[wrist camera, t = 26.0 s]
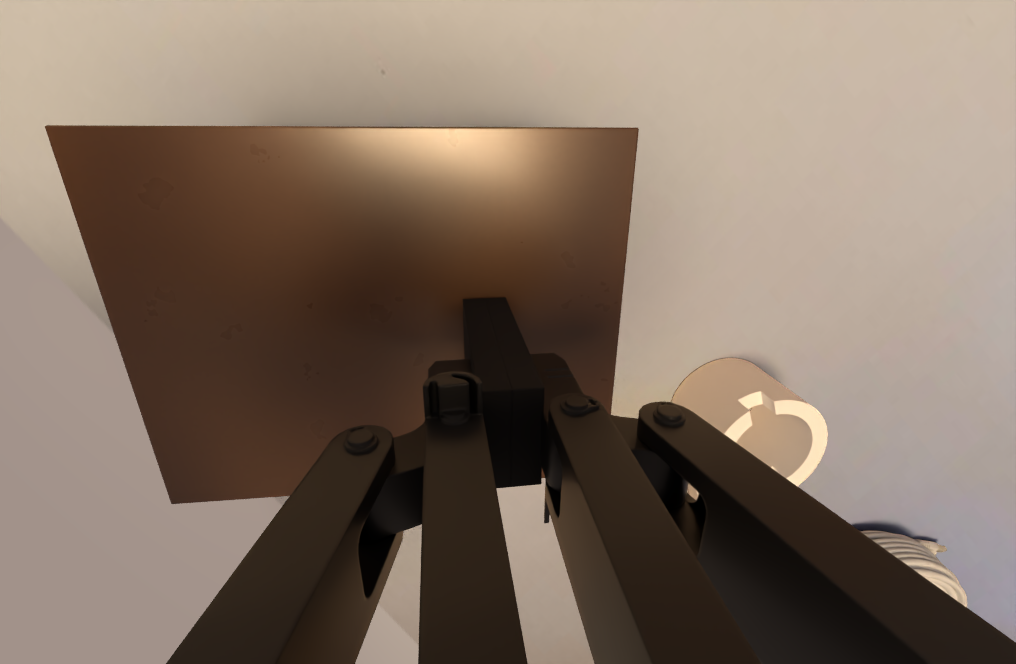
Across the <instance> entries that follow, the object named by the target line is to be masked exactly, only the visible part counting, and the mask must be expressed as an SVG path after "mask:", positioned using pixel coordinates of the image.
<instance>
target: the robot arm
mask: <svg viewBox="0 0 1016 664" xmlns="http://www.w3.org/2000/svg"><path fill="white" fill-rule="evenodd" d="M462 300H463V328H464V357H465V359H458V360H440V361H435V362H434V363H433V364H432V366H431V367H430V368H429V369H428V379H427V380H426V381H425V382H424V385H423V399H424V413H425V421H424V423H423V424H422V425H421V426H420V427H418V428H417V429H415V430H413V431H412V432H409V433H407V434H404V435H401V436H397V437H394V438H393V436H392V434H391V432H390V431H389V430H387V429H386V428H384V427H381V426H376V425H361V426H357V427H352V428H349V429H347V430H345V431H343V432H341V433H339V434H338V435H337V436H335V437H334V438H333V439H332V440H331V441H330V443H329V444H328V445H327V447H326V448H325V449H324V451H323V452H322V453H321V455H320V456H319V457H318V459H317V460H316V462H315V463H314V464H313V466H312V467H311V468H310V470H309V471H308V472H307V474H306V475H305V476H304V478H303V479H302V480H301V482H300V483H299V485H298V486H297V487H296V489H295V490H294V491H293V493H292V494H291V495H290V497H289V498H288V499H287V501H286V502H285V503H284V505H283V506H282V508H281V509H280V510H279V512H278V513H277V514H276V516H275V517H274V518H273V520H272V521H271V522H270V524H269V525H268V526H267V528H266V529H265V531H264V532H263V533H262V535H261V536H260V537H259V539H258V540H257V541H256V543H255V544H254V545H253V547H252V548H251V550H250V551H249V552H248V553H247V555H246V556H245V558H244V559H243V560H242V562H241V563H240V564H239V566H238V567H237V568H236V570H235V571H234V572H233V574H232V575H231V577H230V578H229V579H228V581H227V582H226V583H225V585H224V586H223V587H222V589H221V590H220V591H219V593H218V594H217V595H216V597H215V599H213V601H212V602H211V604H210V605H209V607H208V608H207V609H206V611H205V612H204V613H203V615H202V616H201V617H200V618H199V620H198V621H197V622H196V624H195V625H194V627H193V628H192V629H191V631H190V632H189V633H188V635H187V636H186V637H185V639H184V640H183V642H182V643H181V644H180V645H179V647H178V648H177V650H176V651H175V652H174V654H173V655H172V656H171V658H170V659H169V660H168V662H167V663H166V664H355V662H356V659H357V657H358V654H359V651H360V649H361V646H362V644H363V641H364V638H365V636H366V633H367V630H368V628H369V625H370V623H371V620H372V618H373V614H374V612H375V610H376V607H377V604H378V602H379V599H380V597H381V594H382V591H383V589H384V586H385V584H386V581H387V578H388V576H389V573H390V571H391V568H392V565H393V563H394V560H395V558H396V555H397V552H398V550H399V547H400V545H401V542H402V538H403V531H404V530H407V529H410V528H412V527H415V526H418V525H421V524H422V547H421V584H420V622H419V659H418V664H527V658H526V653H525V647H524V642H523V636H522V630H521V625H520V619H519V614H518V608H517V602H516V597H515V591H514V586H513V580H512V574H511V569H510V563H509V558H508V552H507V547H506V541H505V535H504V530H503V524H502V519H501V513H500V507H499V502H498V496H497V491H496V488H504V487H515V486H526V485H536V484H541V475H542V469H543V472H544V475H545V478H546V486H545V510H544V523H549V515H551V519H552V522H553V525H554V529H555V532H556V536H557V539H558V542H559V546H560V549H561V552H562V556H563V559H564V562H565V566H566V569H567V572H568V576H569V579H570V583H571V586H572V589H573V593H574V596H575V599H576V603H577V606H578V609H579V613H580V616H581V620H582V623H583V626H584V630H585V633H586V636H587V640H588V643H589V646H590V650H591V653H592V656H593V660H594V663H595V664H1016V642H1014V641H1013V640H1011V639H1010V638H1009V637H1007V636H1006V635H1004V634H1003V633H1002V632H1000V631H999V630H997V629H996V628H995V627H993V626H992V625H990V624H989V623H988V622H986V621H985V620H983V619H982V618H981V617H979V616H978V615H976V614H975V613H974V612H972V611H971V610H969V609H968V608H967V607H965V606H964V605H962V604H961V603H960V602H958V601H957V600H955V599H954V598H953V597H951V596H950V595H948V594H947V593H946V592H944V591H943V590H941V589H940V588H939V587H937V586H936V585H934V584H933V583H932V582H930V581H929V580H927V579H926V578H925V577H923V576H922V575H920V574H919V573H918V572H916V571H915V570H913V569H912V568H911V567H909V566H908V565H906V564H905V563H904V562H902V561H901V560H899V559H898V558H897V557H895V556H894V555H892V554H891V553H890V552H888V551H887V550H885V549H884V548H883V547H881V546H880V545H878V544H877V543H876V542H874V541H873V540H871V539H870V538H869V537H867V536H866V535H864V534H863V533H862V532H860V531H859V530H857V529H856V528H855V527H853V526H852V525H851V524H849V523H848V522H846V521H845V520H844V519H842V518H841V517H839V516H838V515H837V514H835V513H834V512H832V511H831V510H830V509H828V508H827V507H825V506H824V505H823V504H821V503H820V502H818V501H817V500H816V499H814V498H813V497H811V496H810V495H809V494H807V493H806V492H804V491H803V490H802V489H800V488H799V487H797V486H796V485H795V484H793V483H792V482H790V481H789V480H788V479H786V478H785V477H783V476H782V475H781V474H779V473H778V472H776V471H775V470H774V469H772V468H771V467H769V466H768V465H767V464H765V463H764V462H762V461H761V460H760V459H758V458H757V457H755V456H754V455H753V454H751V453H750V452H748V451H747V450H746V449H744V448H743V447H741V446H740V445H739V444H737V443H736V442H734V441H733V440H732V439H730V438H729V437H727V436H726V435H725V434H723V433H722V432H720V431H719V430H718V429H716V428H715V427H713V426H712V425H711V424H709V423H708V422H706V421H705V420H704V419H702V418H701V417H699V416H698V415H697V414H695V413H694V412H693V411H691V410H689V409H687V408H685V407H683V406H680V405H677V404H674V403H671V402H653V403H649V404H646V405H644V406H643V407H642V408H641V409H640V410H639V417H638V419H636V418H627V417H619V416H613V415H610V414H608V412H607V410H606V409H605V407H604V405H603V404H602V403H601V402H600V401H599V400H597V399H595V398H593V397H591V396H588V395H585V394H584V393H583V391H582V389H581V387H580V386H579V384H578V382H577V380H576V379H575V377H573V373H572V372H571V370H570V369H569V366H568V365H567V363H566V361H565V360H564V359H563V358H561V357H560V356H558V355H557V354H555V353H539V354H530V353H529V350H528V348H527V346H526V343H525V341H524V339H523V336H522V334H521V332H520V329H519V327H518V325H517V322H516V320H515V318H514V316H513V313H512V311H511V309H510V306H509V304H508V302H507V299H506V297H503V298H479V299H462ZM688 484H690V485H691V486H692V487H693V488H694V489H696V491H697V492H698V498H697V500H695V499H694V498H692V497H691V496H690V495H689V494H688V493H687V489H688Z"/></svg>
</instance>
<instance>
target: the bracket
mask: <svg viewBox="0 0 1016 664" xmlns="http://www.w3.org/2000/svg"><path fill="white" fill-rule="evenodd" d="M671 403H674V404H677V405H680V406H683V407H685V408H687V409H689V410H691V411H693V412H694V413H695V414H697V415H698V416H699V417H701V418H702V419H704V420H705V421H706V422H708V423H709V424H711V425H712V426H713V427H715V428H716V429H718V430H719V431H720V432H722V433H723V434H725V435H726V436H727V437H729V438H730V439H732V440H733V441H734V442H736V443H737V444H739V445H740V446H741V447H743V448H744V449H746V450H747V451H748V452H750V453H751V454H753V455H754V456H755V457H757V458H758V459H760V460H761V461H762V462H764V463H765V464H767V465H768V466H769V467H771V468H772V469H774V470H775V471H776V472H778V473H779V474H781V475H782V476H783V477H785V478H786V479H788V480H789V481H790V482H792V483H793V484H795V485H796V486H797V487H798V485H800V484H801V483H802V482H803V481H804V480H805V479H806V478H807V477H808V476H809V475H810V474H811V473H812V472H813V471H814V469H815V468H816V467H817V465H818V464H819V462H820V460H821V458H822V456H823V454H824V451H825V448H826V444H827V436H828V434H827V426H826V423H825V420H824V418H823V417H822V415H821V414H820V413H819V412H818V411H817V410H816V409H815V408H814V407H813V406H811V405H810V404H808V403H807V402H806V401H804V400H803V399H801V398H800V397H799V396H797V395H796V394H795V393H793V392H792V391H790V390H789V389H788V388H786V387H785V386H783V385H782V384H781V383H779V382H778V381H777V380H775V379H774V378H772V377H771V376H770V375H768V374H767V373H765V372H764V371H763V370H761V369H760V368H759V367H757V366H756V365H754V364H753V363H751V362H749V361H746V360H743V359H738V358H724V359H719V360H715V361H712V362H709V363H707V364H705V365H703V366H701V367H699V368H698V369H696V370H695V371H694V372H692V373H691V374H690V375H689V376H688V377H687V378H686V379H685V380H684V381H683V382H682V383H681V385H680V386H679V387H678V389H677V390H676V392H675V394H674V396H673V399H672V401H671ZM751 407H752V409H751V411H749V410H748V409H749V408H751ZM688 491H689V495H690V496H691V497H692V498H694V499H695V500H697V498H698V492H697V491H696V489H694V488H693V487H692V486H691V485H690V484H688Z"/></svg>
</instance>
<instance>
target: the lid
mask: <svg viewBox="0 0 1016 664" xmlns="http://www.w3.org/2000/svg"><path fill="white" fill-rule="evenodd" d="M45 128H46V131H47V134H48V137H49V140H50V143H51V146H52V149H53V152H54V155H55V158H56V161H57V164H58V167H59V170H60V173H61V176H62V179H63V182H64V185H65V188H66V191H67V194H68V197H69V200H70V203H71V206H72V209H73V212H74V215H75V218H76V221H77V224H78V227H79V230H80V233H81V236H82V239H83V242H84V245H85V248H86V251H87V254H88V257H89V260H90V263H91V266H92V269H93V272H94V274H95V277H96V280H97V283H98V286H99V289H100V292H101V295H102V298H103V301H104V304H105V307H106V310H107V313H108V316H109V319H110V322H111V325H112V328H113V331H114V334H115V337H116V340H117V343H118V346H119V349H120V352H121V355H122V358H123V361H124V364H125V367H126V370H127V373H128V376H129V379H130V382H131V384H132V388H133V391H134V393H135V397H136V399H137V403H138V405H139V408H140V412H141V415H142V417H143V421H144V424H145V426H146V429H147V432H148V435H149V438H150V441H151V444H152V447H153V450H154V453H155V456H156V459H157V462H158V465H159V468H160V471H161V474H162V477H163V480H164V483H165V486H166V489H167V492H168V495H169V498H170V501H171V504H179V503H193V502H207V501H222V500H235V499H250V498H264V497H279V496H290V495H291V494H292V493H293V491H294V490H295V489H296V487H297V486H298V485H299V483H300V482H301V480H302V479H303V478H304V476H305V475H306V474H307V472H308V471H309V470H310V468H311V467H312V466H313V464H314V463H315V462H316V460H317V459H318V457H319V456H320V455H321V453H322V452H323V451H324V449H325V448H326V447H327V445H328V444H329V443H330V441H331V440H332V439H333V438H334V437H335V436H337V435H338V434H339V433H341V432H343V431H345V430H347V429H349V428H352V427H357V426H361V425H376V426H381V427H384V428H386V429H387V430H389V431H390V432H391V434H392V436H393V438H394V437H397V436H401V435H404V434H407V433H409V432H412V431H413V430H415V429H417V428H418V427H420V426H421V425H422V424H423V423H424V421H425V413H424V399H423V385H424V382H425V381H426V380H427V379H428V369H429V368H430V367H431V366H432V364H433V363H434V362H435V361H440V360H458V359H465V357H464V328H463V300H462V299H479V298H503V297H506V299H507V302H508V304H509V306H510V309H511V311H512V313H513V316H514V318H515V320H516V322H517V325H518V327H519V329H520V332H521V334H522V336H523V339H524V341H525V343H526V346H527V348H528V350H529V353H530V354H539V353H555V354H557V355H558V356H560V357H561V358H563V359H564V360H565V361H566V363H567V365H568V366H569V369H570V370H571V372H572V373H573V377H575V379H576V380H577V382H578V384H579V386H580V387H581V389H582V391H583V393H584V394H585V395H588V396H591V397H593V398H595V399H597V400H599V401H600V402H601V403H602V404H603V405H604V407H605V409H606V410H607V412H608V414H610V415H611V406H612V396H613V386H614V376H615V365H616V355H617V345H618V335H619V324H620V314H621V304H622V294H623V284H624V273H625V263H626V253H627V243H628V232H629V222H630V212H631V202H632V192H633V181H634V171H635V161H636V151H637V141H638V130H639V129H638V128H569V127H316V126H62V125H47V126H45ZM541 478H545V475H544V472H543V469H542V475H541Z"/></svg>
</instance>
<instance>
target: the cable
mask: <svg viewBox="0 0 1016 664" xmlns="http://www.w3.org/2000/svg"><path fill="white" fill-rule="evenodd" d="M861 532H862V533H863V534H864V535H866V536H867V537H869V538H870V539H871V540H873V541H874V542H876V543H877V544H878V545H880V546H881V547H883V548H884V549H885V550H887V551H888V552H890V553H891V554H892V555H894V556H895V557H897V558H898V559H899V560H901V561H902V562H904V563H905V564H906V565H908V566H909V567H911V568H912V569H913V570H915V571H916V572H918V573H919V574H920V575H922V576H923V577H925V578H926V579H927V580H929V581H930V582H932V583H933V584H934V585H936V586H937V587H939V588H940V589H941V590H943V591H944V592H946V593H947V594H948V595H950V596H951V597H953V598H954V599H955V600H957V601H958V602H960V603H961V604H962V605H964V606H965V607H967V597H966V593H965V591H964V590H963V588H962V587H961V586H960V584H959V581H958V579H957V578H956V576H955V575H954V574H953V573H952V572H951V571H950V570H948V569H947V568H946V567H945V566H944V565H943V564H942V563H941V562H940V561H939V560H938V559H937V557H936V556H935V555H936V554H937V552H944V551H946V550H947V549H946V547H945V546H941V545H938V544H937V543H935V542H931V541H925V540H919V539H915V540H913V539H912V538H910V537H907V536H905V535H900V534H893V533H888V532H884V531H861Z"/></svg>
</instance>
